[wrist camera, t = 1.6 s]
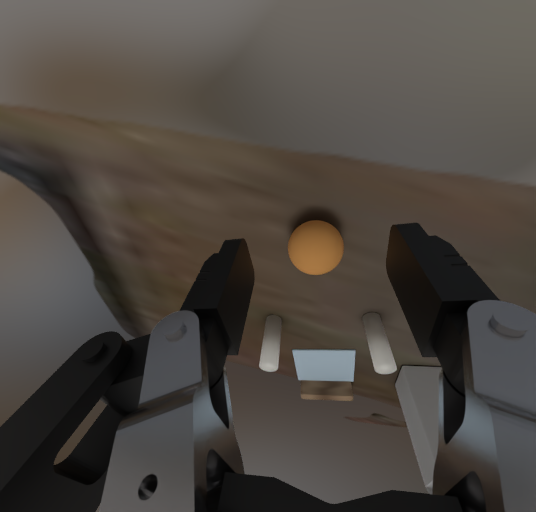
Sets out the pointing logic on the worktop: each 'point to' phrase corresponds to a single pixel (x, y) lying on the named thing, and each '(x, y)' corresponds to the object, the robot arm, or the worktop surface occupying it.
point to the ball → (315, 247)
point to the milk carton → (421, 414)
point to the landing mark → (324, 364)
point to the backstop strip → (326, 390)
